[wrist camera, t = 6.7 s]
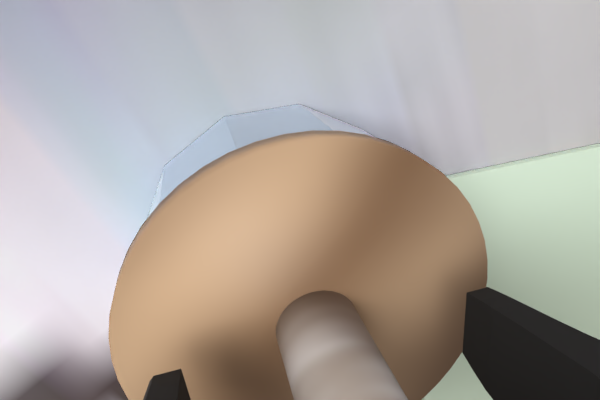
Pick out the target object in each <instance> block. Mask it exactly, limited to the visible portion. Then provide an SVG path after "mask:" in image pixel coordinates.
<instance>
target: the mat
mask: <svg viewBox="0 0 600 400" xmlns="http://www.w3.org/2000/svg"><path fill="white" fill-rule="evenodd" d="M446 177H447V178H448V179H449V180H450V181H451V182H452V183H454V184H455V185H456V186H457V187H458V189H459V190H460V191H461V193H462V194H463V195H464V197H465V198H466V199H467V201H468V202H469V203H470V205H471V207H472V209H473V211H474V213H475V215H476V217H477V219H478V221H479V223H480V227H481V230H482V233H483V236H484V239H485V245H486V252H487V259H488V265H487V285H486V287H489V288H491V289H494V290H496V291H498V292H500V293H503V294H505V295H507V296H509V297H511V298H513V299H515V300H517V301H519V302H521V303H523V304H525V305H527V306H529V307H531V308H534V309H536V310H538V311H540V312H542V313H544V314H546V315H548V316H550V317H552V318H554V319H556V320H558V321H560V322H562V323H564V324H567V325H569V326H571V327H573V328H575V329H577V330H579V331H581V332H584V333H586V334H588V335H590V336H592V337H595V338H597V339H599V340H600V143H599V144H594V145H589V146H585V147H580V148H575V149H570V150H566V151H561V152H556V153H551V154H547V155H542V156H537V157H532V158H528V159H523V160H518V161H513V162H508V163H504V164H499V165H494V166H489V167H485V168H480V169H475V170H470V171H466V172H461V173H456V174H451V175H447V176H446ZM422 400H493V399H492V398H491V396H490V395H489V394H488V392H487V391H486V390H485V388H484V387H483V385H482V384H481V382H480V381H479V379H478V377H477V376H476V374H475V373H474V371H473V370H472V368H471V366H470V365H469V363H468V361H467V360H466V358H465V356H464V355H463V353H461V354H460V356H459V357H458V359H457V360H456V362H455V363H454V365H453V366H452V367H451V369H450V370H449V371H448V372H447V373H446V375H445V376H444V377H443V378H442V379H441V381H440V382H439V383H438V384H437V385H436V386H435V387H434V388H433V389H432V390H431V391H430V392H429V393H428V394H427V395H426V396H425V397H424V398H423V399H422Z"/></svg>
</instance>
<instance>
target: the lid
mask: <svg viewBox="0 0 600 400" xmlns="http://www.w3.org/2000/svg"><path fill="white" fill-rule="evenodd" d="M487 265H488V259H487V252H486V245H485V239H484V236H483V233H482V230H481V227H480V223H479V221H478V219H477V217H476V215H475V213H474V211H473V209H472V207H471V205H470V203H469V202H468V201H467V199H466V198H465V197H464V195H463V194H462V193H461V191H460V190H459V189H458V187H457V186H456V185H455V184H454V183H452V182H451V181H450V180H449V179H448V178H447V177H446V176H445V175H444V174H443V173H442V172H440V171H439V170H438V169H436V168H435V167H433V166H432V165H430V164H429V163H427V162H426V161H424V160H423V159H421V158H419V157H418V156H416V155H415V154H413V153H411V152H410V151H408V150H406V149H404V148H401V147H399V146H397V145H395V144H393V143H391V142H389V141H386V140H382V139H379V138H376V137H372V136H369V135H365V134H359V133H352V132H345V131H324V130H311V131H304V132H296V133H288V134H282V135H278V136H275V137H271V138H267V139H263V140H259V141H256V142H253V143H251V144H248V145H246V146H243V147H241V148H238V149H236V150H233V151H231V152H228V153H227V154H225V155H223V156H221V157H219V158H218V159H216V160H214V161H212V162H210V163H209V164H207V165H205V166H203V167H202V168H200V169H199V170H198V171H196V172H195V173H194V174H192V175H191V176H190V177H188V178H187V179H186V180H184V181H183V182H182V183H180V184H179V185H178V186H177V187H176V188H175V189H174V190H173V191H172V192H171V193H170V194H169V195H168V196H167V197H166V198H164V199H163V200H162V201H161V202H160V203H159V204H158V206H157V207H156V208H155V209H154V211H153V212H152V213H151V215H150V216H149V217H148V218H147V220H146V221H145V222H144V223H143V225H142V226H141V228H140V229H139V231H138V233H137V235H136V236H135V238H134V240H133V242H132V243H131V245H130V247H129V249H128V251H127V254H126V256H125V259H124V261H123V264H122V267H121V269H120V272H119V275H118V279H117V283H116V288H115V292H114V296H113V301H112V306H111V310H110V317H109V344H110V352H111V359H112V363H113V366H114V369H115V372H116V375H117V378H118V381H119V383H120V385H121V386H122V388H123V390H124V392H125V394H126V396H127V398H128V399H129V400H143V398H144V396H145V393H146V390H147V387H148V384H149V382H150V380H151V379H152V377H153V376H155V375H159V374H162V373H166V372H170V371H174V370H178V369H181V370H182V373H183V376H184V380H185V383H186V386H187V389H188V392H189V396H190V399H191V400H422V399H423V398H424V397H425V396H426V395H427V394H428V393H429V392H430V391H431V390H432V389H433V388H434V387H435V386H436V385H437V384H438V383H439V382H440V381H441V379H442V378H443V377H444V376H445V375H446V373H447V372H448V371H449V370H450V369H451V367H452V366H453V365H454V363H455V362H456V360H457V359H458V357H459V356H460V354H461V353H462V351H463V337H464V323H465V309H466V294H467V292H471V291H475V290H478V289H482V288H486V285H487Z"/></svg>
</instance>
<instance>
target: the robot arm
mask: <svg viewBox="0 0 600 400" xmlns="http://www.w3.org/2000/svg"><path fill="white" fill-rule="evenodd" d="M462 353H463V355H464V356H465V358H466V360H467V361H468V363H469V365H470V366H471V368H472V370H473V371H474V373H475V374H476V376H477V377H478V379H479V381H480V382H481V384H482V385H483V387H484V388H485V390H486V391H487V392H488V394H489V395H490V396H491V398H492V399H493V400H600V340H599V339H597V338H595V337H592V336H590V335H588V334H586V333H584V332H581V331H579V330H577V329H575V328H573V327H571V326H569V325H567V324H564V323H562V322H560V321H558V320H556V319H554V318H552V317H550V316H548V315H546V314H544V313H542V312H540V311H538V310H536V309H534V308H531V307H529V306H527V305H525V304H523V303H521V302H519V301H517V300H515V299H513V298H511V297H509V296H507V295H505V294H503V293H500V292H498V291H496V290H494V289H491V288H489V287H486V288H482V289H478V290H475V291H471V292H467V294H466V309H465V323H464V337H463V351H462ZM143 400H191V399H190V396H189V392H188V389H187V386H186V383H185V380H184V376H183V373H182V370H181V369H178V370H174V371H170V372H166V373H162V374H159V375H155V376H153V377H152V379H151V380H150V382H149V384H148V387H147V390H146V393H145V396H144V398H143Z"/></svg>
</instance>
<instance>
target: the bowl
mask: <svg viewBox="0 0 600 400" xmlns="http://www.w3.org/2000/svg"><path fill="white" fill-rule="evenodd" d="M311 130H324V131H345V132H352V133H359V134H365V135H369V136H372V135H371V134H369V133H368V132H366V131H365V130H363V129H361V128H358V127H356V126H353V125H351V124H348V123H346V122H343V121H341V120H338V119H336V118H333V117H331V116H328V115H326V114H323V113H321V112H318V111H316V110H313V109H311V108H308V107H306V106H303V105H301V104H296V105H290V106H284V107H278V108H272V109H266V110H260V111H254V112H248V113H242V114H236V115H230V116H224V117H223V118H222V119H220V120H219V121H218V122H217V123H216V124H214V125H213V126H212V127H211V128H210V129H208V130H207V131H206V132H205V133H203V134H202V135H201V136H200V137H199V138H197V139H196V140H195V141H194V142H193V143H191V144H190V145H189V146H188V147H186V148H185V149H184V150H183V151H182V152H180V153H179V154H178V155H177V156H176V157H174V158H173V159H172V160H171V161H170V162H168V163H167V164H166V165H165V166H164V169H163V172H162V175H161V178H160V181H159V184H158V187H157V190H156V193H155V196H154V199H153V202H152V205H151V208H150V211H149V214H148V217H149V216H150V215H151V213H152V212H153V211H154V209H155V208H156V207H157V206H158V204H159V203H160V202H161V201H162V200H163V199H164V198H166V197H167V196H168V195H169V194H170V193H171V192H172V191H173V190H174V189H175V188H176V187H177V186H178V185H179V184H180V183H182V182H183V181H184V180H186V179H187V178H188V177H190V176H191V175H192V174H194V173H195V172H196V171H198V170H199V169H200V168H202V167H203V166H205V165H207V164H209V163H210V162H212V161H214V160H216V159H218V158H219V157H221V156H223V155H225V154H227V153H228V152H231V151H233V150H236V149H238V148H241V147H243V146H246V145H248V144H251V143H253V142H256V141H259V140H263V139H267V138H271V137H275V136H278V135H282V134H288V133H296V132H304V131H311ZM372 137H374V136H372ZM148 217H147V218H148Z"/></svg>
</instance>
